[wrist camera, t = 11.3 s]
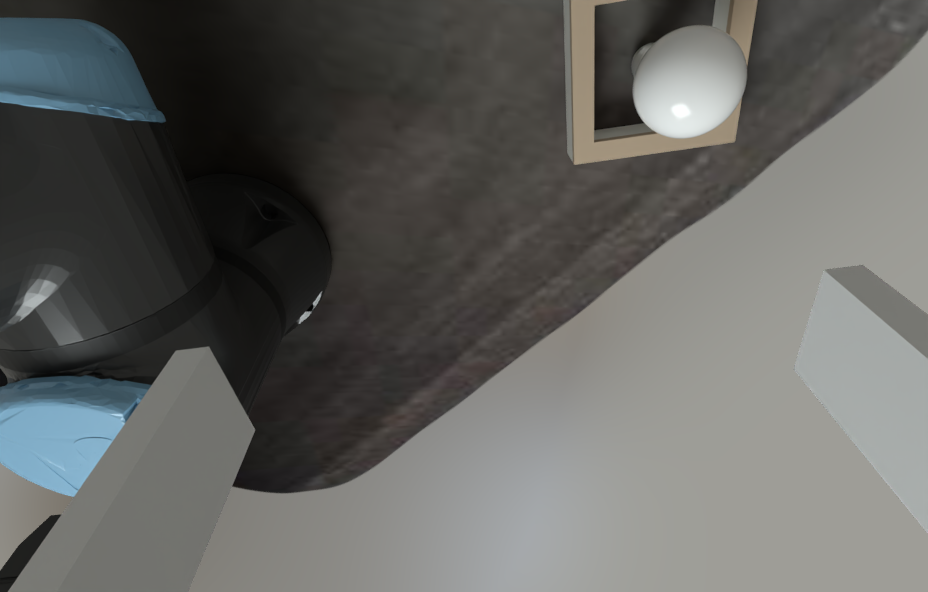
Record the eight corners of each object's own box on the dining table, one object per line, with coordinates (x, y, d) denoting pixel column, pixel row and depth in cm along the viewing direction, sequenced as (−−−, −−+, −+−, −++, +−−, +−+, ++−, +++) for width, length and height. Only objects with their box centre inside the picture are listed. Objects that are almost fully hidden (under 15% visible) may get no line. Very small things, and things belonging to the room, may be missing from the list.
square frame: (567, 152, 41) (574, 164, 39) (562, -20, 34) (570, -18, 32) (718, 131, 40) (734, 142, 38) (744, -50, 34) (765, -50, 31)
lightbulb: (585, 64, 37) (628, 99, 28) (657, -10, 35) (729, 3, 26) (637, 123, 40) (692, 173, 31) (707, 58, 37) (790, 92, 28)
